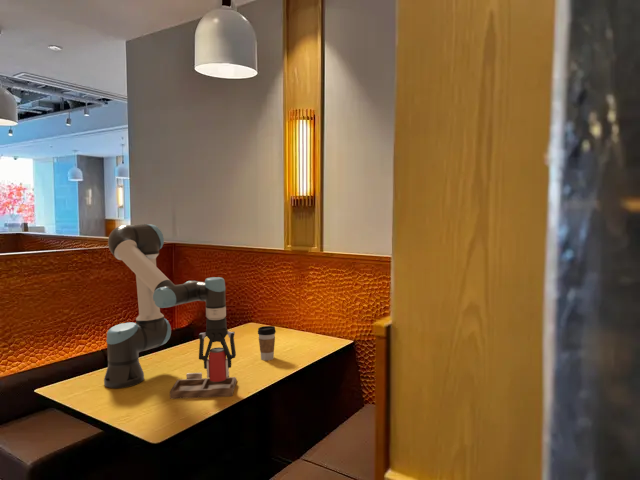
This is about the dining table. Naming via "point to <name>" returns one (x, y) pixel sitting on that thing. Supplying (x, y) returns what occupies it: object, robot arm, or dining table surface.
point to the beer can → (217, 365)
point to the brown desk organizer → (202, 387)
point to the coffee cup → (267, 342)
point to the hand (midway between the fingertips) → (218, 376)
